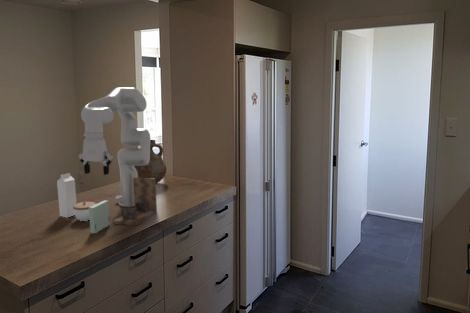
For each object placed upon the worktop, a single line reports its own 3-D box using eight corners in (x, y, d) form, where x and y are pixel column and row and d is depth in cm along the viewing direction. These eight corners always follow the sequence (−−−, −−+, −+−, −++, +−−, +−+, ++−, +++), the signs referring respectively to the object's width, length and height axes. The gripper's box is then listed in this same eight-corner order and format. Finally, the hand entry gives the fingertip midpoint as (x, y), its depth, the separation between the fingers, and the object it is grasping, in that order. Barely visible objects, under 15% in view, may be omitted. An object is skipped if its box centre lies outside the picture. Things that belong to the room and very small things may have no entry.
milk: (59, 216, 206) (55, 174, 202) (69, 213, 211) (65, 172, 207) (68, 218, 203) (64, 175, 199) (77, 215, 209) (74, 173, 205)
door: (90, 233, 183) (88, 207, 180) (105, 224, 194) (104, 200, 192) (95, 233, 182) (93, 207, 180) (110, 224, 193) (108, 200, 191)
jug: (135, 181, 282) (133, 138, 277) (166, 180, 286) (165, 137, 280) (133, 189, 261) (131, 143, 256) (167, 187, 265) (165, 141, 259)
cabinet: (113, 223, 195) (111, 187, 192) (136, 210, 216) (134, 177, 213) (136, 225, 192) (134, 188, 189) (156, 211, 213) (155, 178, 210)
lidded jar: (81, 224, 194) (79, 205, 192) (69, 220, 201) (68, 201, 199) (101, 219, 202) (99, 201, 200) (89, 214, 209) (88, 197, 207)
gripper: (72, 136, 179) (75, 174, 182) (106, 137, 175) (109, 176, 178) (82, 134, 186) (85, 171, 189) (116, 135, 182) (118, 173, 185)
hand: (96, 173), depth 183 cm, fingers open, 9 cm apart
